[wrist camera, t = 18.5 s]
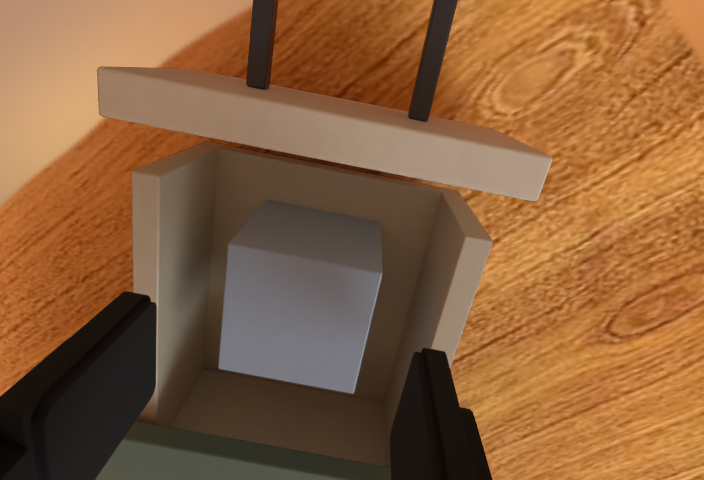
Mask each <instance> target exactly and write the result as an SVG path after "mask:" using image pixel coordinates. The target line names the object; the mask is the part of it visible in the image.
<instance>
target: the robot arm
mask: <svg viewBox="0 0 704 480" xmlns="http://www.w3.org/2000/svg"><path fill="white" fill-rule="evenodd" d="M156 324H157V306H156V303H155V302H151V299H150V297H149V296H148V295H144V294H138V293H133V292H128V291H126V292H123V293H122V294H120V295H119V296H118V297H117V298H116V299H115V300H113V301H112V302H111V303H110V304H109V305H108V306H107V307H105V308H104V309H103V310H102V311H101V312H100V313H98V314H97V315H96V316H95V317H94V318H93V319H91V320H90V321H89V322H88V323H87V324H86V325H85V326H83V327H82V328H81V329H80V330H79V331H78V332H76V333H75V334H74V335H73V336H72V337H71V338H69V339H68V340H66V341H65V342H63V343H62V344H61V345H60V346H59V347H58V348H57V349H55V350H54V351H53V352H52V353H51V354H50V355H48V356H47V357H46V358H45V359H44V360H43V361H41V362H40V363H39V364H38V365H37V366H36V367H34V368H33V369H32V370H31V371H30V372H29V373H27V374H26V375H25V376H24V377H23V378H22V379H20V380H19V381H18V382H17V383H16V384H15V385H13V386H12V387H11V388H10V389H9V390H8V391H7V392H5V393H4V394H3V395H2V396H1V397H0V480H95V479H96V477H97V476H98V475H99V473H100V472H101V470H102V469H103V467H104V466H105V464H106V463H107V462H108V460H109V459H110V457H111V456H112V454H113V453H114V451H115V450H116V449H117V447H118V446H119V444H120V443H121V441H122V440H123V438H124V437H125V436H126V434H127V433H128V431H129V430H130V428H131V427H132V425H133V424H134V423H135V421H136V420H137V418H138V417H139V415H140V414H141V412H142V411H143V410H144V408H145V407H146V405H147V404H148V402H149V401H150V399H151V398H152V396H153V394H154V391H155V387H156ZM390 460H391V480H492V477H491V473H490V470H489V466H488V463H487V459H486V456H485V452H484V449H483V445H482V442H481V438H480V435H479V431H478V428H477V424H476V421H475V417H474V415H473V412H472V411H471V410H470V409H466V408H460V407H459V403H458V399H457V395H456V391H455V387H454V383H453V379H452V375H451V371H450V367H449V363H448V359H447V355H446V352H445V351H440V350H435V349H430V348H425V347H424V348H423V349H422V351H421V352H414V354H413V357H412V360H411V364H410V367H409V370H408V374H407V377H406V381H405V384H404V387H403V391H402V394H401V398H400V401H399V404H398V408H397V411H396V415H395V418H394V422H393V425H392V429H391V434H390Z"/></svg>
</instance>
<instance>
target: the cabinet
mask: <svg viewBox="0 0 704 480" xmlns="http://www.w3.org/2000/svg"><path fill="white" fill-rule="evenodd" d="M95 480H391V467H386V466H380V465H375V464H369V463H364V462H358V461H353V460H347V459H342V458H336V457H331V456H325V455H320V454H314V453H309V452H304V451H298V450H293V449H287V448H282V447H276V446H271V445H265V444H260V443H254V442H249V441H243V440H238V439H233V438H227V437H222V436H216V435H211V434H205V433H200V432H194V431H189V430H183V429H178V428H172V427H167V426H161V425H156V424H151V423H145V422H140V421H135V423H134V424H133V425H132V427H131V428H130V430H129V431H128V433H127V434H126V436H125V437H124V438H123V440H122V441H121V443H120V444H119V446H118V447H117V449H116V450H115V451H114V453H113V454H112V456H111V457H110V459H109V460H108V462H107V463H106V464H105V466H104V467H103V469H102V470H101V472H100V473H99V475H98V476H97V477H96V479H95Z"/></svg>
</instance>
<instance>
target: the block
mask: <svg viewBox="0 0 704 480" xmlns="http://www.w3.org/2000/svg"><path fill="white" fill-rule="evenodd" d="M382 274H383V273H382V242H381V222H378V221H373V220H368V219H363V218H358V217H353V216H347V215H342V214H337V213H332V212H327V211H322V210H317V209H311V208H306V207H301V206H296V205H291V204H286V203H281V202H275V201H270V200H266V201H265V202H264V203H263V204H262V206H261V207H260V208H259V209H258V210H257V211H256V212H255V214H254V215H253V216H252V217H251V218H250V219H249V220H248V222H247V223H246V224H245V225H244V226H243V227H242V229H241V230H240V231H239V232H238V233H237V234H236V235H235V237H234V238H233V239H232V240H231V241H230V242H229V244H228V251H227V263H226V275H225V288H224V300H223V313H222V325H221V338H220V350H219V363H218V368H219V369H222V370H228V371H233V372H238V373H244V374H249V375H255V376H260V377H265V378H271V379H276V380H281V381H287V382H292V383H297V384H303V385H308V386H314V387H319V388H324V389H330V390H335V391H340V392H346V393H351V394H353V393H354V391H355V387H356V383H357V379H358V375H359V371H360V366H361V362H362V358H363V354H364V350H365V345H366V341H367V337H368V333H369V329H370V325H371V320H372V316H373V312H374V308H375V304H376V299H377V295H378V291H379V287H380V283H381V279H382Z"/></svg>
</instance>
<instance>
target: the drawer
mask: <svg viewBox="0 0 704 480" xmlns="http://www.w3.org/2000/svg"><path fill="white" fill-rule="evenodd" d="M457 1H458V0H434V1H433V6H432V10H431V15H430V19H429V23H428V28H427V32H426V37H425V41H424V45H423V50H422V54H421V59H420V63H419V67H418V72H417V76H416V81H415V85H414V89H413V94H412V98H411V103H410V107H409V111H403V110H398V109H393V108H388V107H383V106H378V105H373V104H368V103H363V102H357V101H352V100H347V99H342V98H337V97H332V96H327V95H322V94H317V93H312V92H307V91H302V90H297V89H292V88H287V87H282V86H277V85H272V84H270V76H271V66H272V57H273V47H274V38H275V28H276V18H277V9H278V0H253V8H252V20H251V32H250V44H249V56H248V68H247V79H242V78H237V77H232V76H227V75H222V74H217V73H212V72H207V71H202V70H197V69H175V68H135V67H99V68H98V70H97V76H98V100H99V114H100V115H101V116H103V117H106V118H112V119H117V120H122V121H127V122H132V123H137V124H142V125H147V126H152V127H157V128H162V129H168V130H173V131H178V132H183V133H188V134H193V135H198V136H203V137H208V138H213V139H218V140H224V141H229V142H234V143H239V144H244V145H249V146H254V147H259V148H264V149H269V150H275V151H280V152H285V153H290V154H295V155H300V156H305V157H310V158H315V159H320V160H325V161H331V162H336V163H341V164H346V165H351V166H356V167H361V168H366V169H371V170H376V171H381V172H387V173H392V174H397V175H402V176H407V177H412V178H417V179H422V180H427V181H432V182H438V183H443V184H448V185H453V186H458V187H463V188H468V189H473V190H478V191H483V192H488V193H494V194H499V195H504V196H509V197H514V198H519V199H524V200H529V201H537V200H538V198H539V195H540V192H541V190H542V187H543V184H544V182H545V179H546V176H547V173H548V171H549V168H550V165H551V162H552V157H551V156H550V155H547V154H545V153H543V152H541V151H539V150H537V149H535V148H533V147H531V146H528V145H526V144H524V143H522V142H520V141H518V140H516V139H514V138H511V137H509V136H507V135H505V134H503V133H501V132H499V131H497V130H494V129H492V128H488V127H483V126H478V125H473V124H468V123H463V122H458V121H453V120H448V119H443V118H438V117H433V116H429V114H430V110H431V106H432V102H433V98H434V94H435V90H436V86H437V82H438V78H439V74H440V70H441V66H442V62H443V58H444V54H445V49H446V45H447V41H448V37H449V33H450V29H451V25H452V21H453V17H454V13H455V9H456V5H457ZM131 187H132V258H133V293H138V294H144V295H148V296H149V297H150V299H151V302H155V303H156V306H157V324H156V387H155V391H154V394H153V396H152V398H151V399H150V401H149V402H148V404H147V405H146V407H145V408H144V410H143V411H142V412H141V414H140V415H139V417H138V418H137V420H136V421H140V422H145V423H151V424H156V425H161V426H167V427H172V428H178V429H183V430H189V431H194V432H200V433H205V434H211V435H216V436H222V437H227V438H233V439H238V440H243V441H249V442H254V443H260V444H265V445H271V446H276V447H282V448H287V449H293V450H298V451H304V452H309V453H314V454H320V455H325V456H331V457H336V458H342V459H347V460H353V461H358V462H364V463H369V464H375V465H380V466H386V467H391V460H390V434H391V429H392V425H393V422H394V418H395V415H396V411H397V408H398V404H399V401H400V398H401V394H402V391H403V387H404V384H405V381H406V377H407V374H408V370H409V367H410V364H411V360H412V357H413V354H414V352H421V351H422V349H423V348H424V347H425V348H430V349H435V350H440V351H445V352H446V355H447V359H448V363H449V367H451V364H452V361H453V358H454V355H455V352H456V349H457V346H458V343H459V340H460V338H461V335H462V332H463V329H464V326H465V323H466V320H467V317H468V314H469V311H470V308H471V305H472V302H473V299H474V296H475V293H476V290H477V287H478V284H479V282H480V279H481V276H482V273H483V270H484V267H485V264H486V261H487V258H488V255H489V252H490V249H491V246H492V243H493V240H492V239H491V237H490V236H489V235H488V233H487V232H486V230H485V229H484V227H483V226H482V225H481V223H480V222H479V220H478V219H477V217H476V216H475V215H474V213H473V212H472V210H471V209H470V207H469V206H468V205H467V203H466V202H465V200H464V199H463V197H462V196H461V195H460V193H459V192H458V191H456V190H451V189H446V188H441V187H436V186H431V185H426V184H420V183H415V182H410V181H405V180H400V179H395V178H390V177H385V176H380V175H375V174H370V173H364V172H359V171H354V170H349V169H344V168H339V167H334V166H329V165H324V164H319V163H313V162H308V161H303V160H298V159H293V158H288V157H283V156H278V155H273V154H268V153H262V152H257V151H252V150H247V149H242V148H237V147H232V146H227V145H222V144H217V143H211V142H203V143H200V144H198V145H196V146H193V147H191V148H188V149H186V150H183V151H181V152H178V153H176V154H173V155H171V156H168V157H166V158H163V159H160V160H158V161H155V162H153V163H150V164H148V165H145V166H143V167H140V168H138V169H135V170H133V171H132V172H131ZM266 200H270V201H275V202H281V203H286V204H291V205H296V206H301V207H306V208H311V209H317V210H322V211H327V212H332V213H337V214H342V215H347V216H353V217H358V218H363V219H368V220H373V221H378V222H381V242H382V273H383V274H382V279H381V283H380V287H379V291H378V295H377V299H376V304H375V308H374V312H373V316H372V320H371V325H370V329H369V333H368V337H367V341H366V345H365V350H364V354H363V358H362V362H361V366H360V371H359V375H358V379H357V383H356V387H355V391H354V393H353V394H351V393H346V392H340V391H335V390H330V389H324V388H319V387H314V386H308V385H303V384H297V383H292V382H287V381H281V380H276V379H271V378H265V377H260V376H255V375H249V374H244V373H238V372H233V371H228V370H222V369H219V368H218V363H219V350H220V338H221V325H222V313H223V300H224V288H225V275H226V263H227V251H228V244H229V242H230V241H231V240H232V239H233V238H234V237H235V235H236V234H237V233H238V232H239V231H240V230H241V229H242V227H243V226H244V225H245V224H246V223H247V222H248V220H249V219H250V218H251V217H252V216H253V215H254V214H255V212H256V211H257V210H258V209H259V208H260V207H261V206H262V204H263V203H264V202H265V201H266Z"/></svg>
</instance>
